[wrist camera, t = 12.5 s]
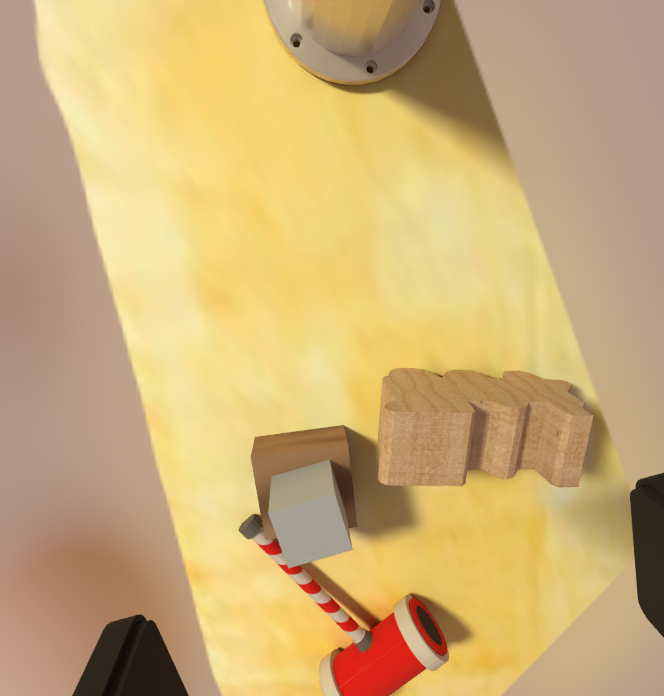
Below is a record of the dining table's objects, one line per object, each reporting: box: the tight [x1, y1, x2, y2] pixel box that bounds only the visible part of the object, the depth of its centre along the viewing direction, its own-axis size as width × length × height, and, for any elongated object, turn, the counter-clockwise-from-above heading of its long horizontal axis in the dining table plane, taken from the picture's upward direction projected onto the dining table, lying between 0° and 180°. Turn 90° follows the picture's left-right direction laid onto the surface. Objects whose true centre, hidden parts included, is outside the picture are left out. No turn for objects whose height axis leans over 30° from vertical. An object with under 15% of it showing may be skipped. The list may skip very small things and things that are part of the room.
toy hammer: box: [239, 514, 449, 696], centre depth 42 cm, size 23×12×6 cm, turn 41°
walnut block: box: [251, 425, 357, 540], centre depth 40 cm, size 8×8×4 cm
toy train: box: [378, 368, 594, 487], centre depth 36 cm, size 6×17×10 cm, turn 87°
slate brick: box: [268, 460, 352, 568], centre depth 36 cm, size 5×5×5 cm
